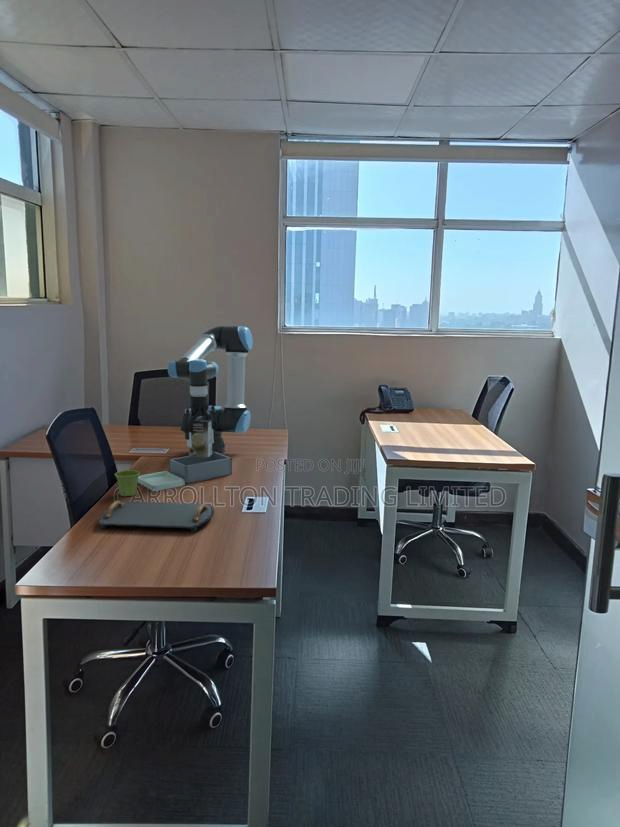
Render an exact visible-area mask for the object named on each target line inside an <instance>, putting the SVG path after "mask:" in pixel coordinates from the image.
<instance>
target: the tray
mask: <svg viewBox="0 0 620 827" xmlns="http://www.w3.org/2000/svg"><path fill="white" fill-rule="evenodd" d="M137 482H138V483H140V484H142V485H144V486H145V487H147V488H148V489H147V488H146V489H147V490H149V489H150V490H149V491H151V490H152V491H151V492H152V493H155V492H154V491H156V492H159V490H161V491H165V490H170V489H174V488H180V487H183V485H186V484H185V480H184V479H182V478H180V477H178V476H176V475H174V474H172V473H170V472H169V471H167V470H163V471H160V472H159V471H158V472H153V473H147V474H142V475H139V477H138V481H137ZM138 483H137V484H138ZM140 484H139V485H140ZM142 485H141V486H142ZM144 486H143V487H144ZM145 487H144V488H145ZM164 489H165V490H164Z"/></svg>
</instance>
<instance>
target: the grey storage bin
mask: <svg viewBox="0 0 620 827" xmlns="http://www.w3.org/2000/svg"><path fill="white" fill-rule="evenodd" d="M168 465H169V466H168V467H169V471H168V472H170V473H172V474H174V475H176V476H178V477H180V478H182V479H184V480H185V483H187V484H191V483H190V482H192V483H195V481H196V482H201V481H206V480H210V479H215V478H220V477H224V476H229V475H233V458H232V457H231V456H227V455H224V454H222V453H217V452H212V454H211V455H210V456H209V457H191V456H189V455H187V456H186V455H185V456H181V457H175V458H170V459H168ZM205 479H206V480H205ZM200 480H201V481H200Z"/></svg>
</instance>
